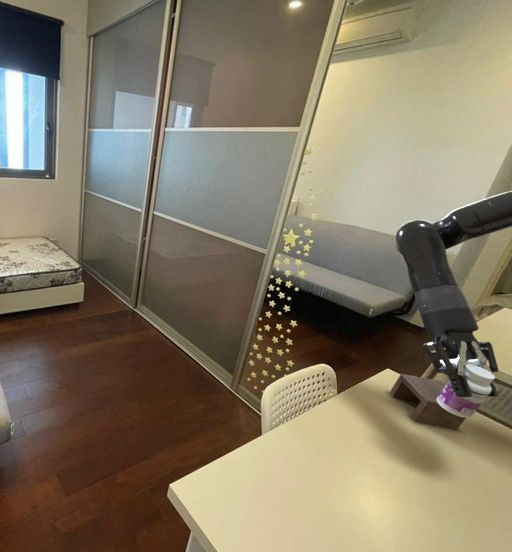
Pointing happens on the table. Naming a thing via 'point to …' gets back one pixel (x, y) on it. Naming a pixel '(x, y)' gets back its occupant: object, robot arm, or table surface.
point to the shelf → (425, 401)
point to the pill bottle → (479, 389)
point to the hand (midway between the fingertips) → (477, 396)
